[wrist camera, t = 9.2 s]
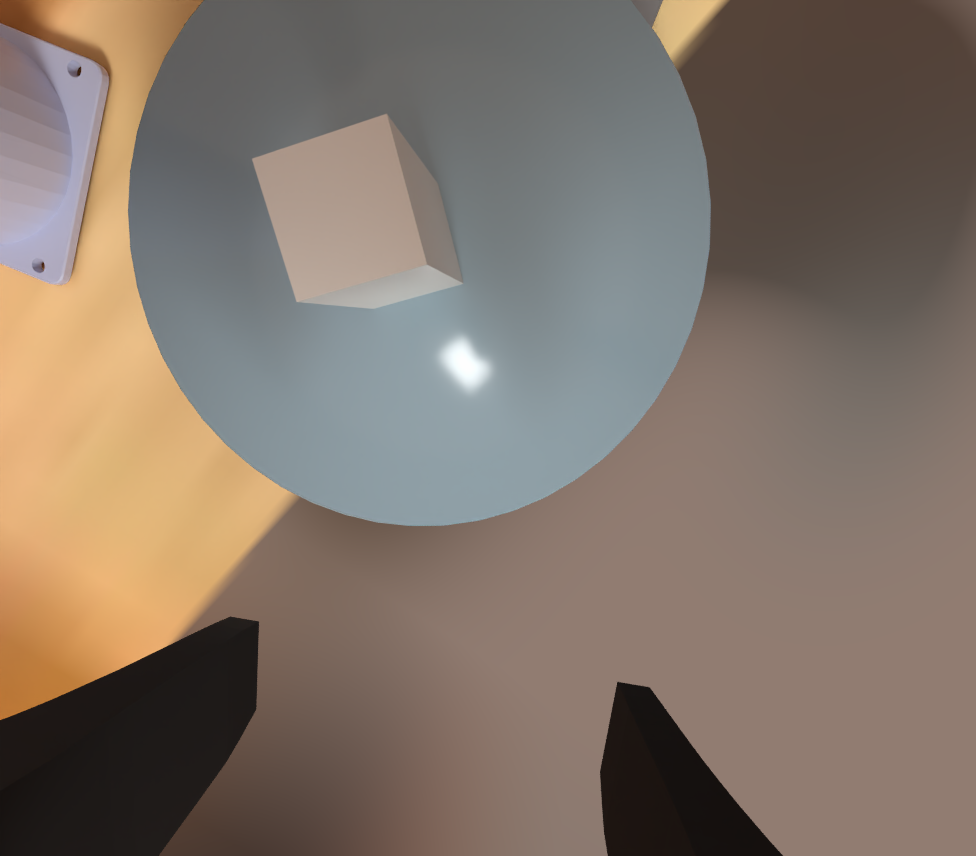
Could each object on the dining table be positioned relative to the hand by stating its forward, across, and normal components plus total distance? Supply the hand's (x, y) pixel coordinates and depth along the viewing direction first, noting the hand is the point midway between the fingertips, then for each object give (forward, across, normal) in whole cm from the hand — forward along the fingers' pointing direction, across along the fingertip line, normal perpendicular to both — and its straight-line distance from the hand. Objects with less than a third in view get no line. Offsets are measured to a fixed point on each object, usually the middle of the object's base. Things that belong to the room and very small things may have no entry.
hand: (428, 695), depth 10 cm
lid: (+7, +3, -9) cm, 12 cm away
